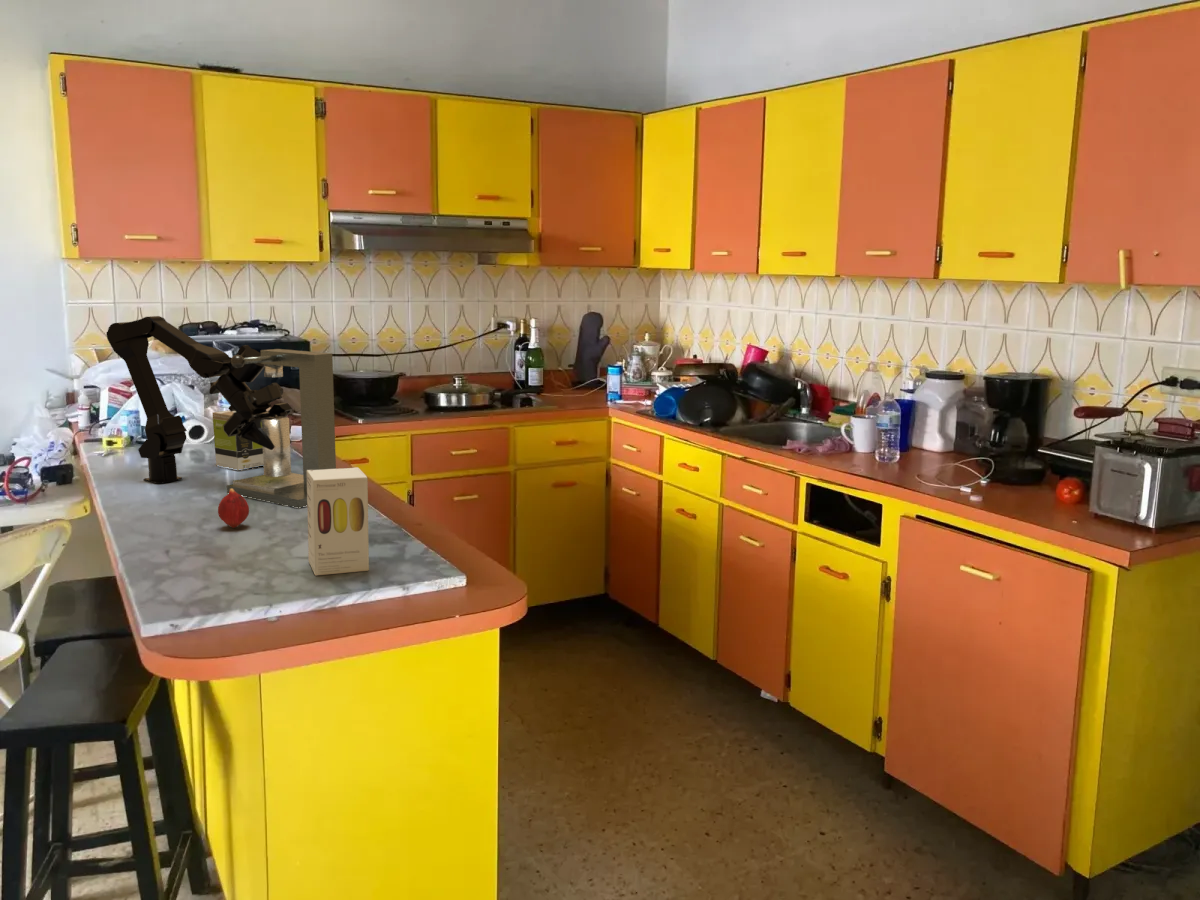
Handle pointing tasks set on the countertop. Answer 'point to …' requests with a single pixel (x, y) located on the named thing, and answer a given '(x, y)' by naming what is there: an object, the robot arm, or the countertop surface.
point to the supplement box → (337, 520)
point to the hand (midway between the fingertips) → (281, 446)
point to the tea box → (234, 446)
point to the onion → (233, 509)
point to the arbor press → (313, 422)
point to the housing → (277, 447)
